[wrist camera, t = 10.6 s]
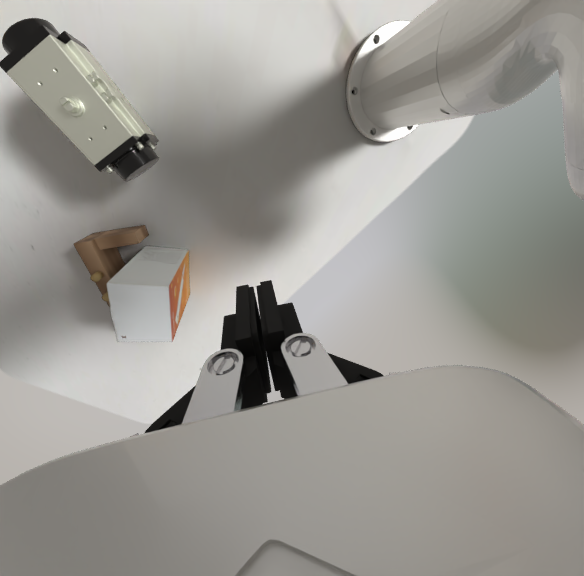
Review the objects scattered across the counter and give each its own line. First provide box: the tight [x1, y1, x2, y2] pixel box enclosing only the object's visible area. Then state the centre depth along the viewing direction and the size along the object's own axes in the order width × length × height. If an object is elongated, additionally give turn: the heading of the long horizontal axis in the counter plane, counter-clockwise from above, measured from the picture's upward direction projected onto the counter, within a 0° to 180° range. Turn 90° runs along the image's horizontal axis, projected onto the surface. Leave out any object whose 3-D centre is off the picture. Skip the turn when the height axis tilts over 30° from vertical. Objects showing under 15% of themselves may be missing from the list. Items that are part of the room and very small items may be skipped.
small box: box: [107, 246, 190, 342], centre depth 34 cm, size 8×6×13 cm
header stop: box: [74, 225, 149, 307], centre depth 37 cm, size 7×15×6 cm, turn 7°
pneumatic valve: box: [0, 18, 159, 181], centre depth 25 cm, size 6×12×12 cm, turn 32°
